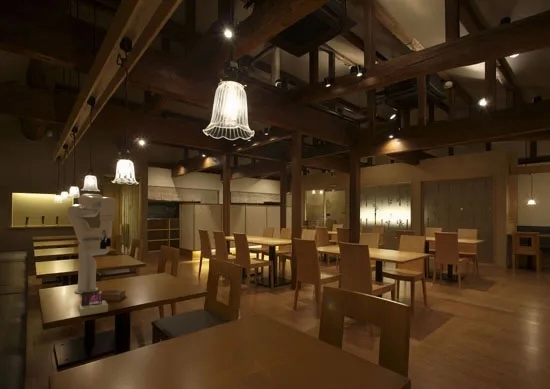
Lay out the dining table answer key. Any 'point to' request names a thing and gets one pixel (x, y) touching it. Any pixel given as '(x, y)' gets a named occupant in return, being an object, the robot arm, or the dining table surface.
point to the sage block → (93, 308)
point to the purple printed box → (94, 298)
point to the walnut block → (112, 295)
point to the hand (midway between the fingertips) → (105, 247)
